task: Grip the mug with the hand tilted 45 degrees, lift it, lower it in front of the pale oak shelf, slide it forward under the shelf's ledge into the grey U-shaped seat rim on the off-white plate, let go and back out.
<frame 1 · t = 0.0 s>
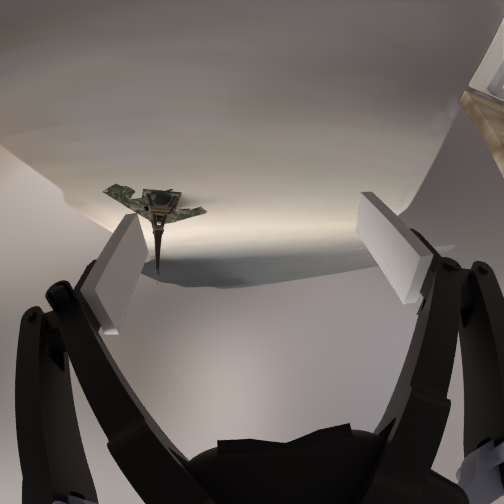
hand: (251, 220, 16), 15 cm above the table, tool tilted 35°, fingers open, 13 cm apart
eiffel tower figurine: (156, 197, 41), on the table
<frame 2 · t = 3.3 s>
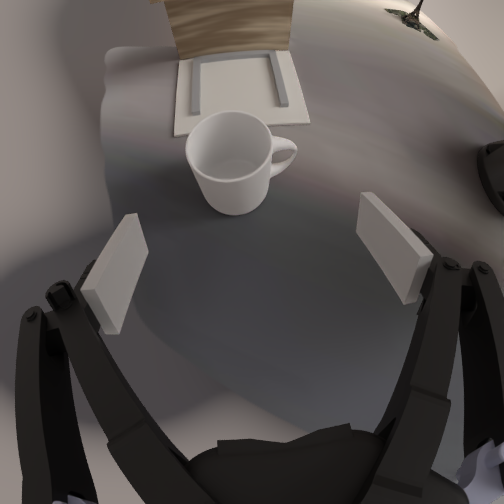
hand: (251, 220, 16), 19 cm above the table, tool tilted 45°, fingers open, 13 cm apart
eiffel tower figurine: (411, 25, 46), on the table
seat plate: (237, 86, 39), on the table
mug: (248, 183, 36), on the table
overhang shelf: (235, 61, 41), resting in seat plate
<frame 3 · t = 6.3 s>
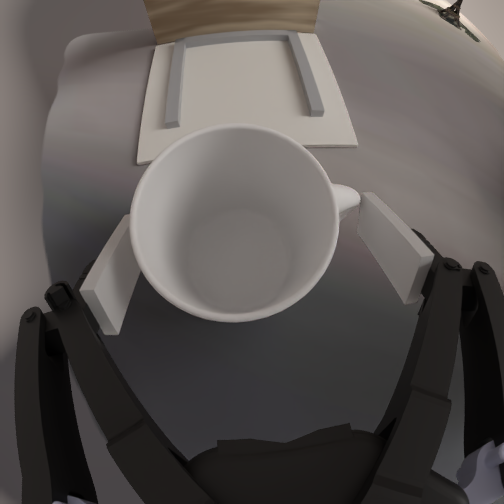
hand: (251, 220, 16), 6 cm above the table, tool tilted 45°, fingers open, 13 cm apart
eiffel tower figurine: (449, 22, 32), on the table
seat plate: (241, 81, 25), on the table
mug: (259, 253, 22), on the table, touching gripper
overhang shelf: (237, 45, 26), resting in seat plate
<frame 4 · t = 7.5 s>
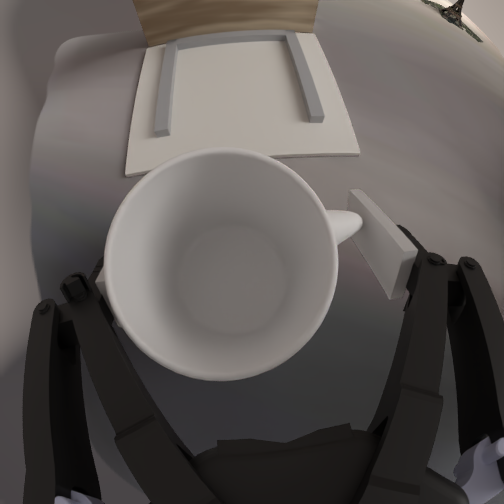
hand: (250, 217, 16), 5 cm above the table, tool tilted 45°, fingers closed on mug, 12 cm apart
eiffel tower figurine: (451, 21, 31), on the table
seat plate: (235, 84, 23), on the table
mug: (255, 273, 20), on the table, touching gripper
overhang shelf: (231, 46, 25), resting in seat plate
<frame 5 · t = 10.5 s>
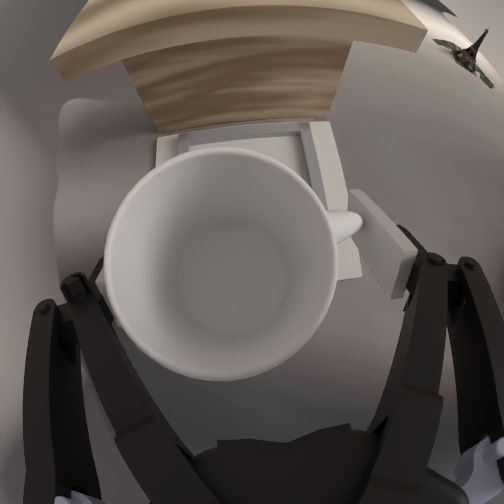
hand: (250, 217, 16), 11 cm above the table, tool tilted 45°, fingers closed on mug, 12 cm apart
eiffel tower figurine: (464, 65, 35), on the table
seat plate: (251, 199, 28), on the table
mug: (255, 273, 20), point 6 cm above the table, touching gripper
overhang shelf: (245, 141, 29), resting in seat plate
when the fingers open (6 cm above the table, at t = 13.9 s): mug stays where it is, resting on seat plate.
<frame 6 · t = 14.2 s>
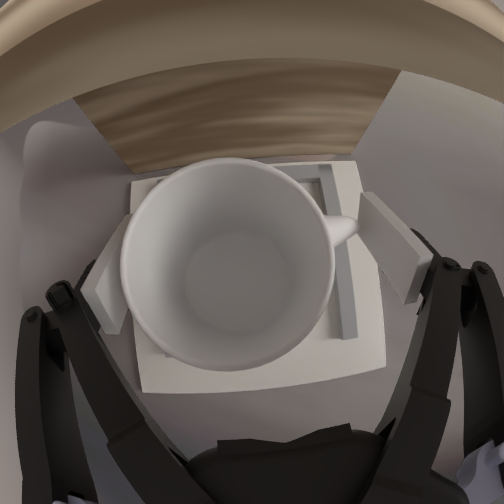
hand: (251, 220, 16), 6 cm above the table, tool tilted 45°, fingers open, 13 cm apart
seat plate: (254, 274, 22), on the table
mug: (258, 274, 21), resting on seat plate
overhang shelf: (246, 189, 23), resting in seat plate
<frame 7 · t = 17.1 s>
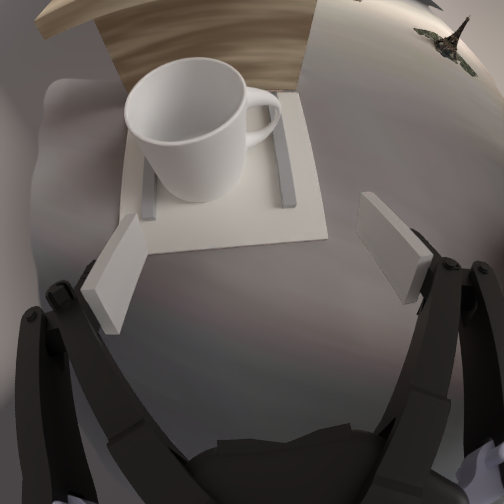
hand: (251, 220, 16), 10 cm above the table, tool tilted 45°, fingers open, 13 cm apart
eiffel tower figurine: (445, 53, 36), on the table
seat plate: (215, 162, 27), on the table
mug: (218, 161, 27), resting on seat plate
overhang shelf: (213, 110, 29), resting in seat plate
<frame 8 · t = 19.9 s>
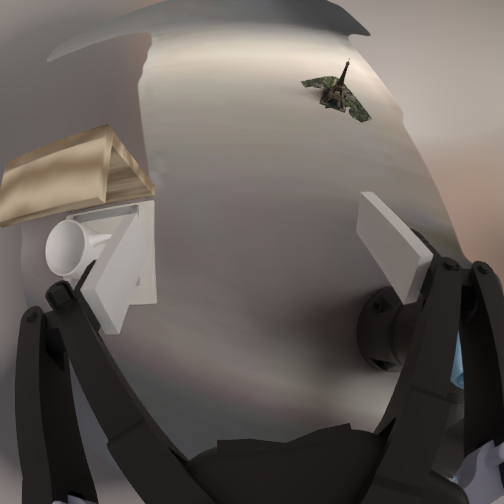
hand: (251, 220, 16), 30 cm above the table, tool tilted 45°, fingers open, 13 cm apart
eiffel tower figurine: (335, 101, 53), on the table
seat plate: (105, 255, 45), on the table
mug: (105, 256, 45), resting on seat plate
overhang shelf: (106, 219, 47), resting in seat plate
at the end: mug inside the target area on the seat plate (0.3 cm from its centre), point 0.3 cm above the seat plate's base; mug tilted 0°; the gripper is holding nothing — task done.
